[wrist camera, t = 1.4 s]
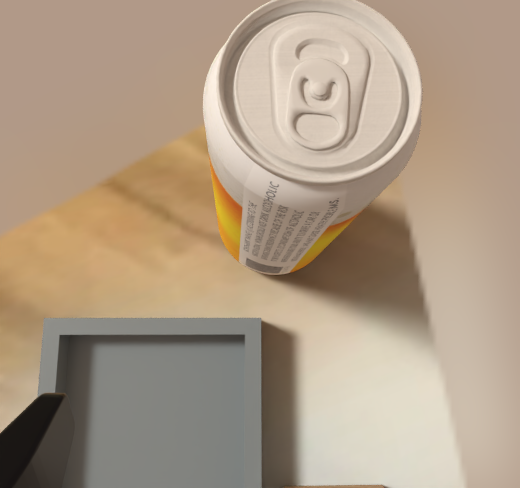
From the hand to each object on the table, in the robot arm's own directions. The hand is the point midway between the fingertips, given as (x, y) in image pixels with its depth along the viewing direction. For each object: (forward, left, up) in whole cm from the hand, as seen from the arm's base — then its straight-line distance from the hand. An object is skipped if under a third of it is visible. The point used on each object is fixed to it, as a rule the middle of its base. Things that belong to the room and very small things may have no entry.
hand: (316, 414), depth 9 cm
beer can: (+8, 0, -17) cm, 19 cm away
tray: (-3, +6, -17) cm, 18 cm away
